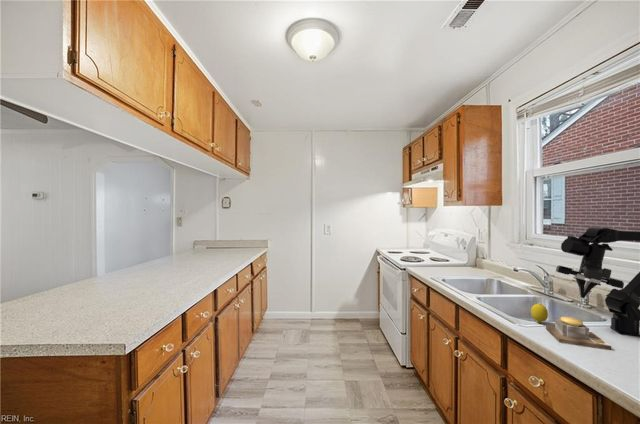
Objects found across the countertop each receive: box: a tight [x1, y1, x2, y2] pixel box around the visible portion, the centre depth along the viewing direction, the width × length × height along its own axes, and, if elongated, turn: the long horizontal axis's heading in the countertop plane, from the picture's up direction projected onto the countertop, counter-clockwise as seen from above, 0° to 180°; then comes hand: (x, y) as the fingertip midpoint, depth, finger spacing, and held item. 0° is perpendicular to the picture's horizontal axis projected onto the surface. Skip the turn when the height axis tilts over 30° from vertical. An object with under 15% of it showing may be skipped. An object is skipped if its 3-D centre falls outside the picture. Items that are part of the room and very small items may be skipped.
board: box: [545, 318, 612, 351], centre depth 102 cm, size 14×12×5 cm
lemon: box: [530, 302, 549, 324], centre depth 116 cm, size 6×6×8 cm
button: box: [560, 316, 584, 327], centre depth 103 cm, size 6×6×5 cm
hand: (582, 297), depth 110 cm, fingers closed
